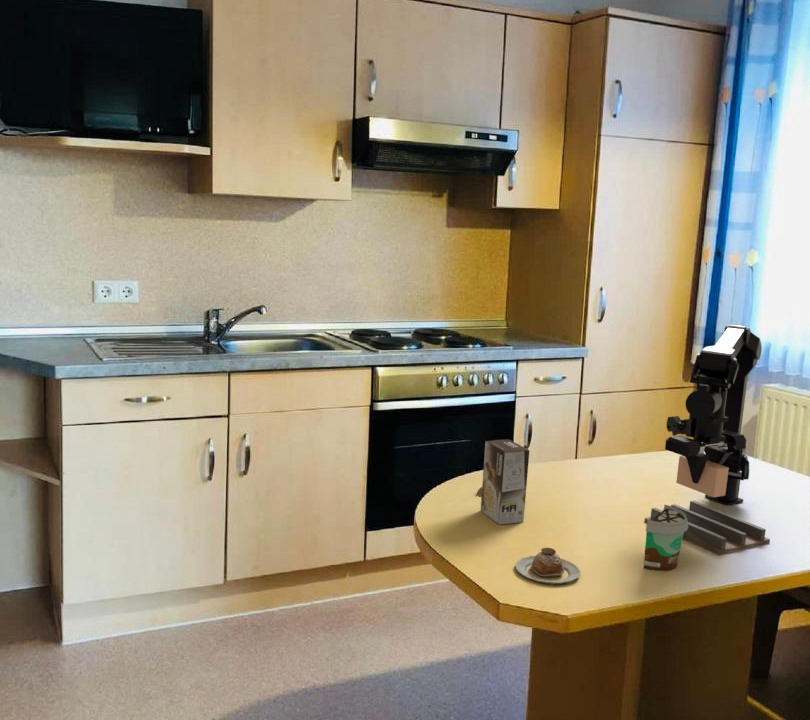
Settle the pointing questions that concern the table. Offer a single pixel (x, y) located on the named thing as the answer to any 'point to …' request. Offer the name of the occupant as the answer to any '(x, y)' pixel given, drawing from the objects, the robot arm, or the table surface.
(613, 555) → the table surface
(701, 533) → the ribbed brown panel
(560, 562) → the pastry
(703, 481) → the terracotta strip
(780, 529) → the table surface
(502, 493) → the coffee box
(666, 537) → the food container
